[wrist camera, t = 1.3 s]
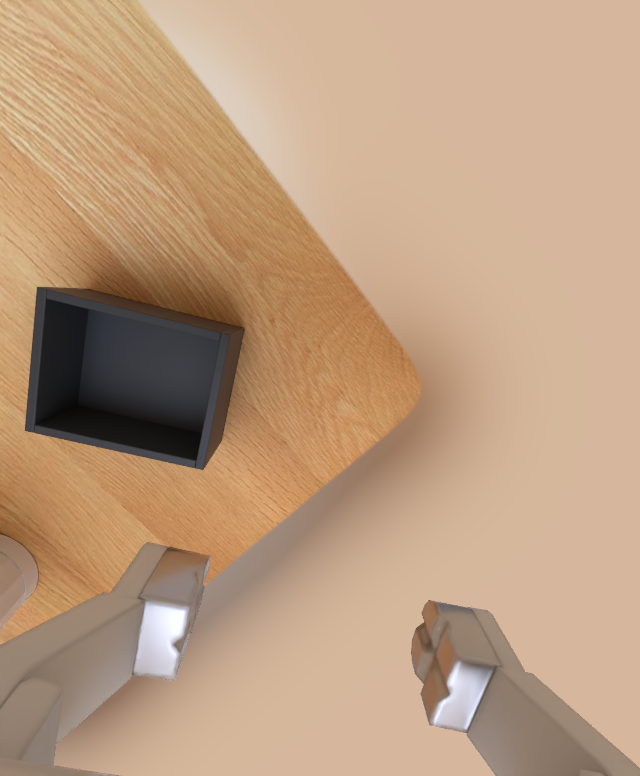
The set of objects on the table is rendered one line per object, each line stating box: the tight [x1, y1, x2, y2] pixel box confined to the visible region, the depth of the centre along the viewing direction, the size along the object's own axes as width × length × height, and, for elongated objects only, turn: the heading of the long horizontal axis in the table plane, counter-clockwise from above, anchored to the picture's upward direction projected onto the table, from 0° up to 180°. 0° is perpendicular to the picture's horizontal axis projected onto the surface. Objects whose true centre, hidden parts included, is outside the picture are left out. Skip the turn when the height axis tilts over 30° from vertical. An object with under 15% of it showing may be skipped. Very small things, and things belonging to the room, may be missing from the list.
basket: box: [25, 287, 245, 470], centre depth 23 cm, size 10×8×4 cm
